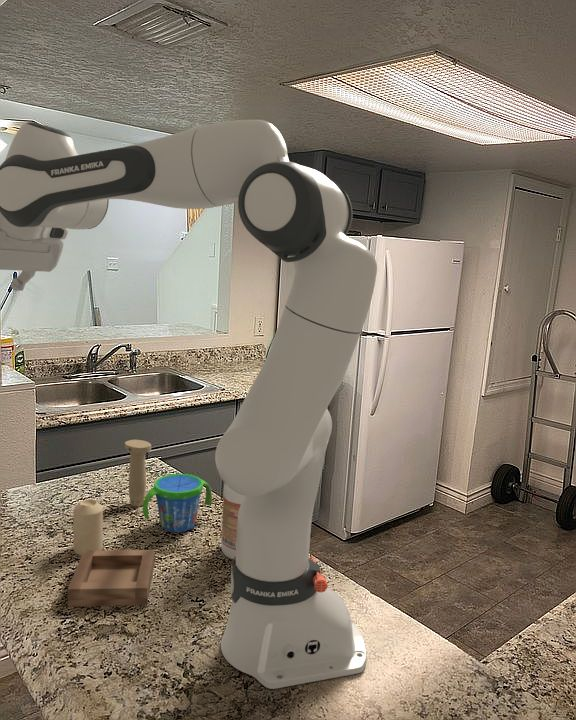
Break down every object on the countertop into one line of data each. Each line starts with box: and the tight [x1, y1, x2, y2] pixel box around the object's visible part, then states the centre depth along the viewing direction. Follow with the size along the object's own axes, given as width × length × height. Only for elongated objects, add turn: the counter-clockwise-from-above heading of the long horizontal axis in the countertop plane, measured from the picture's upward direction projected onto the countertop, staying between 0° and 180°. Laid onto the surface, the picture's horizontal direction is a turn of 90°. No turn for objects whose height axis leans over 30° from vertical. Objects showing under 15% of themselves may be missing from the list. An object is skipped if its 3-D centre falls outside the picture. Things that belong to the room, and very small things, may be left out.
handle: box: [124, 439, 152, 508], centre depth 139 cm, size 5×6×15 cm
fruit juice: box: [220, 482, 245, 560], centre depth 119 cm, size 9×9×28 cm
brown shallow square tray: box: [67, 549, 155, 608], centre depth 107 cm, size 13×13×3 cm
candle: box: [72, 499, 104, 556], centre depth 118 cm, size 6×6×10 cm
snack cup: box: [142, 473, 213, 534], centre depth 130 cm, size 16×10×10 cm
